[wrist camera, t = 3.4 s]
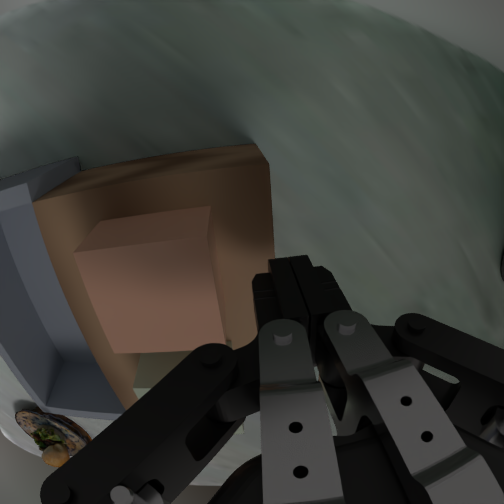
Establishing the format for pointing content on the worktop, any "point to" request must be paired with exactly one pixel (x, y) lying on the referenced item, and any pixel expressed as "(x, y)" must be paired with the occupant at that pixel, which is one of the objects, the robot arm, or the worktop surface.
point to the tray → (44, 308)
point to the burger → (53, 435)
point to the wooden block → (160, 200)
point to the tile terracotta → (155, 281)
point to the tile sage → (160, 371)
